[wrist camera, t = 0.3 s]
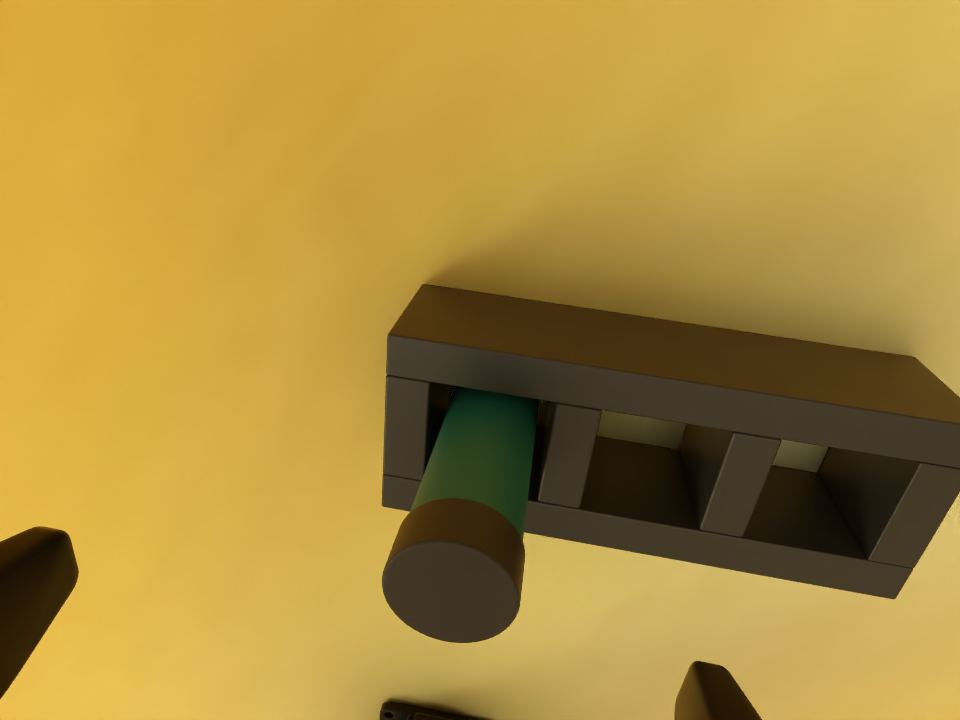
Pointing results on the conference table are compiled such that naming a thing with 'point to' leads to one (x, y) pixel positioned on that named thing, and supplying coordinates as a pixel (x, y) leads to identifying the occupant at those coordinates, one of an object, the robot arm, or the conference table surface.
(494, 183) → the conference table surface
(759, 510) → the organiser
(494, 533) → the capped tube
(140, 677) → the conference table surface
